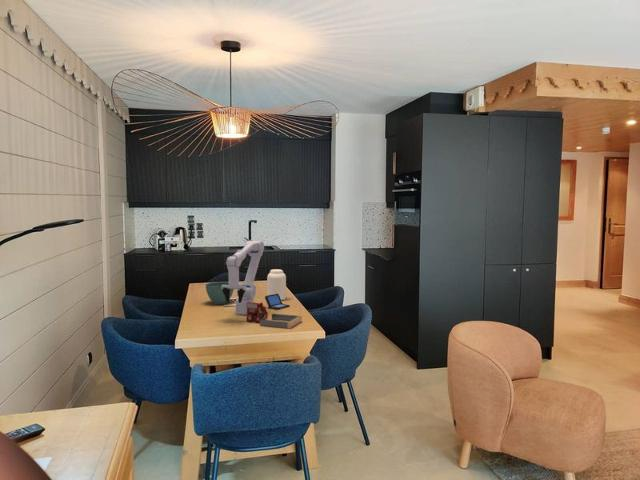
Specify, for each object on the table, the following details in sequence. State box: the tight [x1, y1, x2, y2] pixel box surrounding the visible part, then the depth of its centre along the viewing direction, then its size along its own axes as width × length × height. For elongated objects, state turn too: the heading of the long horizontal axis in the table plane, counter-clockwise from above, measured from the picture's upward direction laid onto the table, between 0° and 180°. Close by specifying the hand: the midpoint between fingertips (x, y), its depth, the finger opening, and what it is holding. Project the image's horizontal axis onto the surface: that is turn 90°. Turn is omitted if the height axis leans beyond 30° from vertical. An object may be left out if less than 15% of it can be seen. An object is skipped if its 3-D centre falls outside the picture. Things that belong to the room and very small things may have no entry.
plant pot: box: [205, 281, 235, 305], centre depth 310 cm, size 18×18×12 cm
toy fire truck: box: [245, 302, 269, 324], centre depth 264 cm, size 7×12×10 cm, turn 71°
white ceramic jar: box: [266, 268, 287, 301], centre depth 323 cm, size 12×12×20 cm
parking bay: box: [259, 313, 303, 329], centre depth 259 cm, size 18×16×3 cm
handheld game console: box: [264, 294, 291, 311], centre depth 299 cm, size 12×11×7 cm
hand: (233, 302), depth 268 cm, fingers open, 7 cm apart
